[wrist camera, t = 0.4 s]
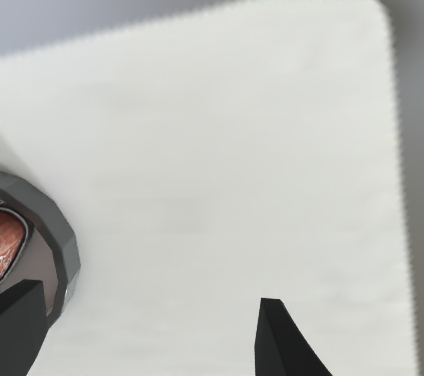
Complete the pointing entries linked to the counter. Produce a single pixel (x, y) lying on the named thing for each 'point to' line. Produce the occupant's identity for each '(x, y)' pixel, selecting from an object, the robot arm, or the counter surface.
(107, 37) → the counter surface
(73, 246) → the dark grey ring
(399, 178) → the counter surface
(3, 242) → the lighter
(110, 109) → the counter surface
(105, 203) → the counter surface
